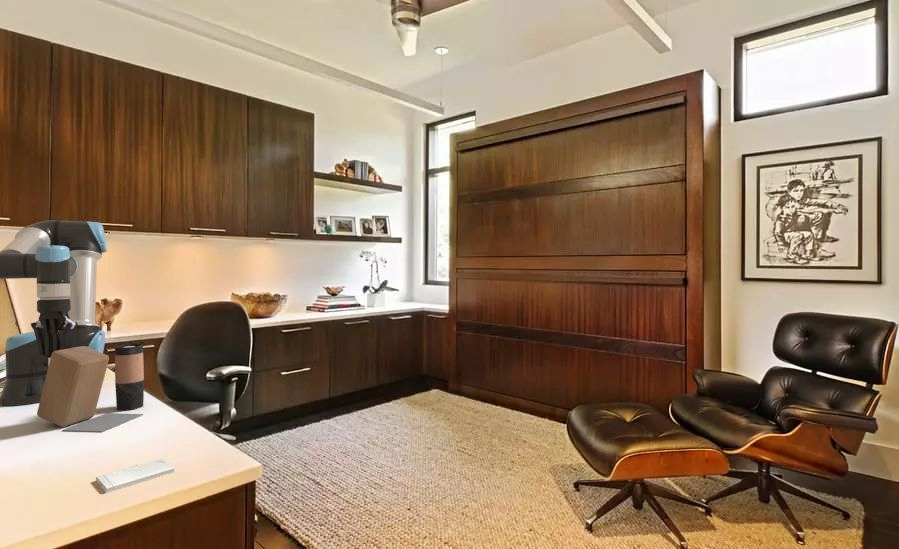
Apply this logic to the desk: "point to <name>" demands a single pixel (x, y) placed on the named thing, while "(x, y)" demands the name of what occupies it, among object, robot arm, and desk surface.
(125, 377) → the travel mug
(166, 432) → the desk surface
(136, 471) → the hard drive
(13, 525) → the desk surface
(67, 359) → the block
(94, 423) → the mat
